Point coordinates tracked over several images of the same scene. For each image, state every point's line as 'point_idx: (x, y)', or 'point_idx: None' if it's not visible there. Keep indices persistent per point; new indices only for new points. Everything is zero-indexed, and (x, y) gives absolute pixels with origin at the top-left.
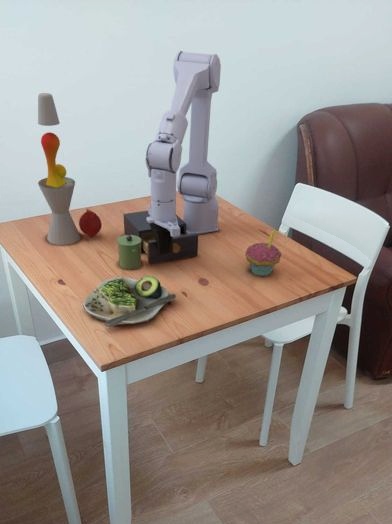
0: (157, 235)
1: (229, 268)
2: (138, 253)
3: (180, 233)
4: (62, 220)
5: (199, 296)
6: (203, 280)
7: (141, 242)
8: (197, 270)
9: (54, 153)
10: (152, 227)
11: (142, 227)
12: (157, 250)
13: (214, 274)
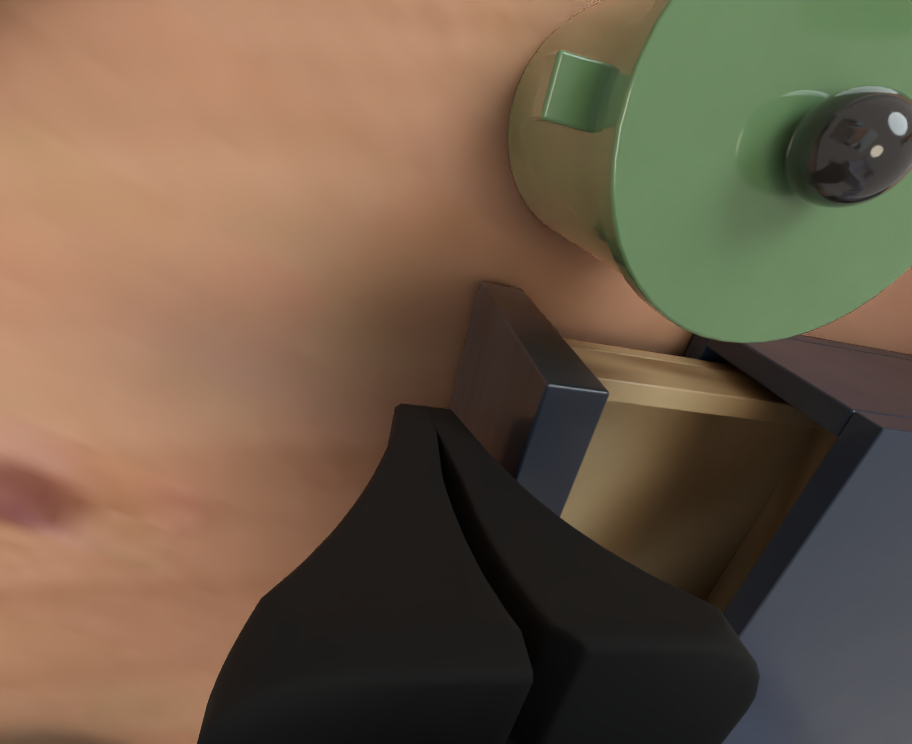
0: (338, 560)
1: (160, 684)
2: (561, 192)
3: None
4: None
5: None
6: (40, 505)
7: (757, 380)
8: (219, 535)
9: None
10: (569, 645)
11: (900, 499)
12: (486, 414)
13: (112, 595)
